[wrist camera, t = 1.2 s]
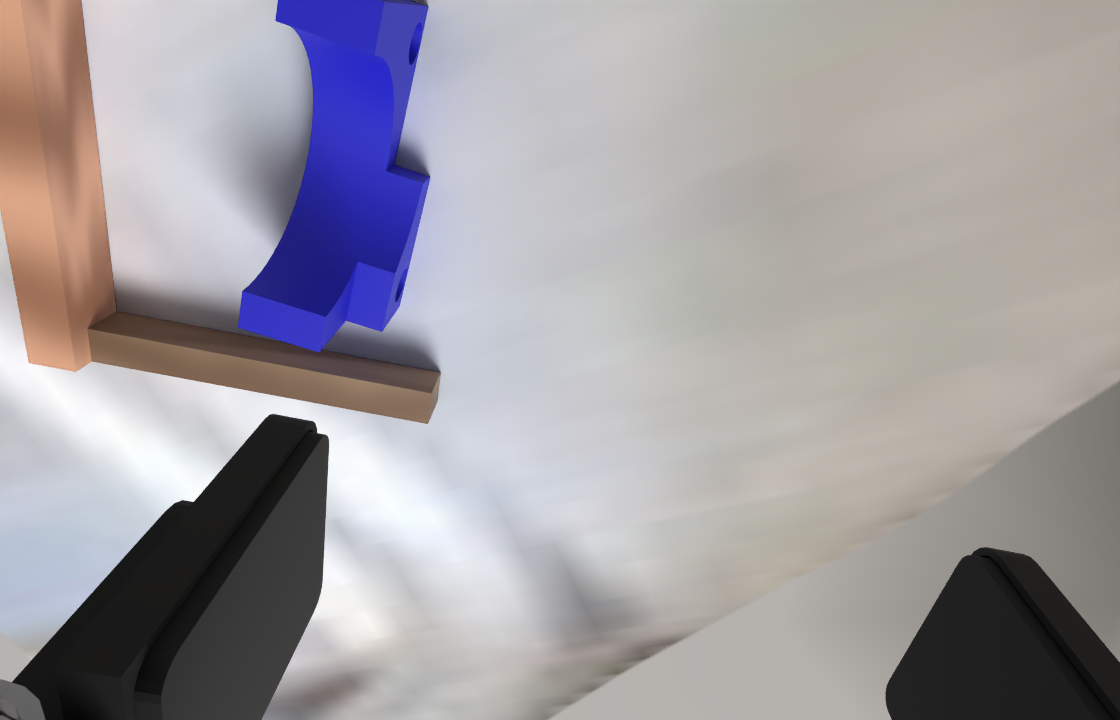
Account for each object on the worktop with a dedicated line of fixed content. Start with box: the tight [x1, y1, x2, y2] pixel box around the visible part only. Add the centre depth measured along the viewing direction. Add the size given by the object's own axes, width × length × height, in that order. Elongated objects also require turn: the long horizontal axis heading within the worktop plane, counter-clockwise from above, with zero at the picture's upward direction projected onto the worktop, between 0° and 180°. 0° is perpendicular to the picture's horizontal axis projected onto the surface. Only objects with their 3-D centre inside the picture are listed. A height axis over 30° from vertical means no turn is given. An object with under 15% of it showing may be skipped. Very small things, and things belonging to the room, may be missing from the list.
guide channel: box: [0, 0, 441, 424], centre depth 26 cm, size 21×17×3 cm
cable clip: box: [238, 0, 430, 352], centre depth 25 cm, size 12×4×6 cm, turn 162°
